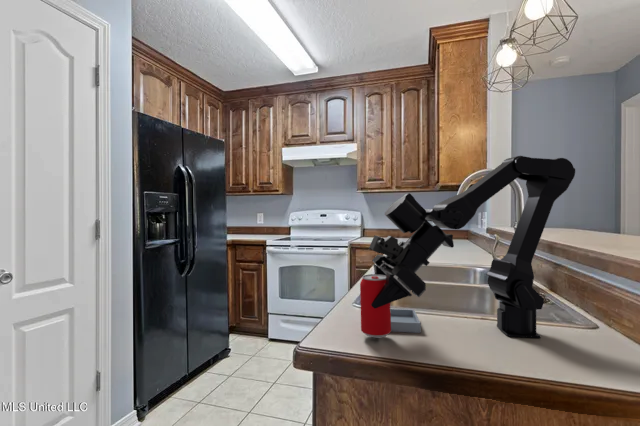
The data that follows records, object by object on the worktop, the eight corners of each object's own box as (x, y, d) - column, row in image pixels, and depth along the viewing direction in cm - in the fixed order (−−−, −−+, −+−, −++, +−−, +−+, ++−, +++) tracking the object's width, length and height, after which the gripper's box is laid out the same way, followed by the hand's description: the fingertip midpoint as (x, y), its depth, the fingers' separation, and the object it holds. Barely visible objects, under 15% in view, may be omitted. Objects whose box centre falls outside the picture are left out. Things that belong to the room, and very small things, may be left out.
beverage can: (389, 328, 71) (388, 273, 71) (392, 339, 65) (391, 279, 65) (360, 327, 72) (359, 273, 72) (361, 339, 66) (360, 279, 66)
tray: (414, 317, 81) (414, 309, 81) (420, 332, 71) (420, 323, 71) (373, 316, 83) (373, 308, 83) (374, 330, 73) (374, 321, 73)
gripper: (380, 220, 78) (335, 268, 77) (408, 223, 59) (349, 286, 58) (412, 252, 79) (368, 300, 78) (450, 265, 60) (393, 328, 59)
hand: (368, 302), depth 68 cm, fingers closed on beverage can, 6 cm apart
